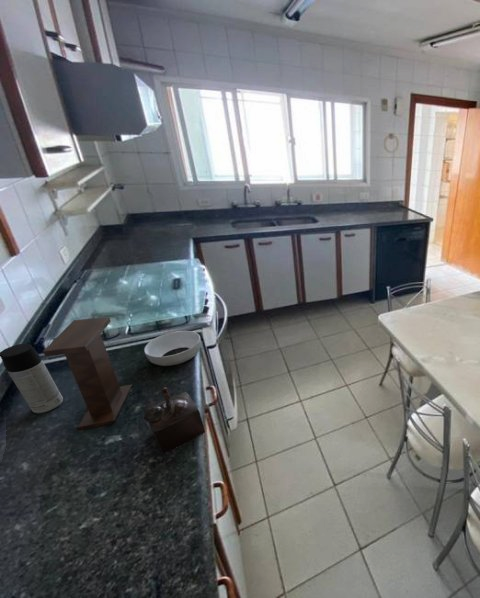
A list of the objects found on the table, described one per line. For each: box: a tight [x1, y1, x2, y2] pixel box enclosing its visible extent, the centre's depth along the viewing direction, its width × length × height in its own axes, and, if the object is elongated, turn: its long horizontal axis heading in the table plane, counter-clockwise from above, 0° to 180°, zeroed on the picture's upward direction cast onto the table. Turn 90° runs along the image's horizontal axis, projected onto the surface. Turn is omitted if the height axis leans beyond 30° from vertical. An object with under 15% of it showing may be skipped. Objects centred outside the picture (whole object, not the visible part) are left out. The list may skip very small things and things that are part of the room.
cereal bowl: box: [143, 330, 202, 367], centre depth 119 cm, size 17×17×7 cm
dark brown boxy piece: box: [143, 386, 206, 455], centre depth 84 cm, size 16×11×18 cm
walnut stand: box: [42, 316, 133, 431], centre depth 92 cm, size 8×16×26 cm, turn 22°
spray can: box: [0, 342, 64, 414], centre depth 92 cm, size 7×7×20 cm
